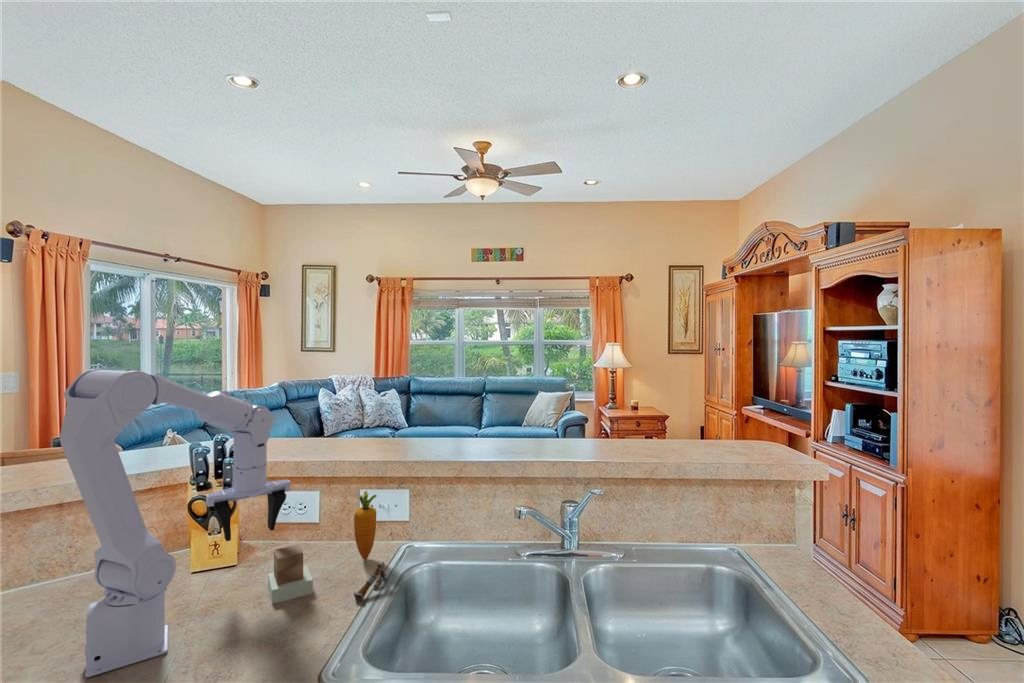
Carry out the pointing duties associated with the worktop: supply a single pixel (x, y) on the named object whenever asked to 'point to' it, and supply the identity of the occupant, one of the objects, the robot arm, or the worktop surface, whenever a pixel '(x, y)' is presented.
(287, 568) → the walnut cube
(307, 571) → the base block
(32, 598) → the worktop surface
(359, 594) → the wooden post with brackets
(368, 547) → the carrot
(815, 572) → the worktop surface
